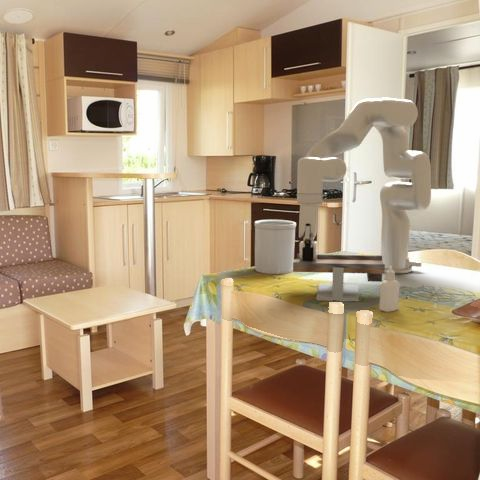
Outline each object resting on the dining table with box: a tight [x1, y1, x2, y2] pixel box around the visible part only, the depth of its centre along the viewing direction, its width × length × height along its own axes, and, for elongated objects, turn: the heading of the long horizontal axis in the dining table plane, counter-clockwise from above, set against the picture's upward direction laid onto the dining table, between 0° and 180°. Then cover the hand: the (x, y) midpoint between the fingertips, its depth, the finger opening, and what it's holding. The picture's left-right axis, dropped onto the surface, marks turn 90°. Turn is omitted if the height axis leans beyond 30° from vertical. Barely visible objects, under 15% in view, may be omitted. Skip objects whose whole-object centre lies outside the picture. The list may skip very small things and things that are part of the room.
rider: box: [298, 240, 318, 263], centre depth 176 cm, size 5×5×6 cm
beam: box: [292, 253, 386, 283], centre depth 175 cm, size 26×14×6 cm, turn 79°
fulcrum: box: [315, 267, 360, 302], centre depth 175 cm, size 12×17×10 cm
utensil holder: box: [254, 219, 297, 275], centre depth 208 cm, size 15×15×18 cm
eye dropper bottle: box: [378, 266, 400, 313], centre depth 158 cm, size 4×6×12 cm
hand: (308, 258), depth 176 cm, fingers open, 5 cm apart
